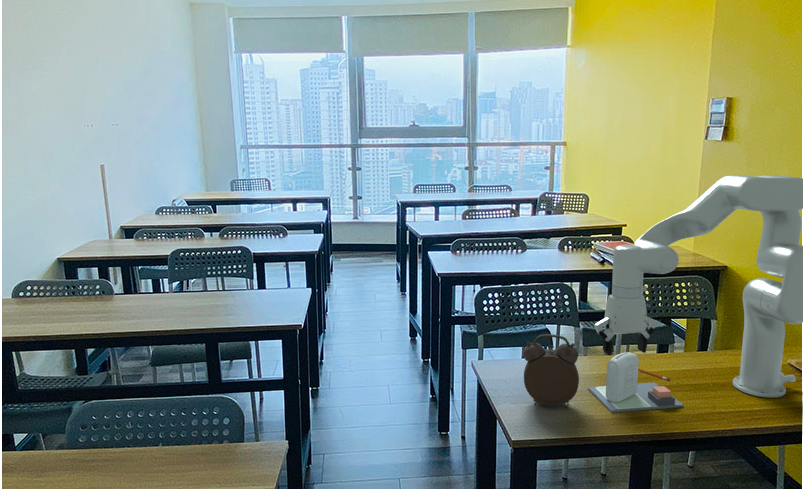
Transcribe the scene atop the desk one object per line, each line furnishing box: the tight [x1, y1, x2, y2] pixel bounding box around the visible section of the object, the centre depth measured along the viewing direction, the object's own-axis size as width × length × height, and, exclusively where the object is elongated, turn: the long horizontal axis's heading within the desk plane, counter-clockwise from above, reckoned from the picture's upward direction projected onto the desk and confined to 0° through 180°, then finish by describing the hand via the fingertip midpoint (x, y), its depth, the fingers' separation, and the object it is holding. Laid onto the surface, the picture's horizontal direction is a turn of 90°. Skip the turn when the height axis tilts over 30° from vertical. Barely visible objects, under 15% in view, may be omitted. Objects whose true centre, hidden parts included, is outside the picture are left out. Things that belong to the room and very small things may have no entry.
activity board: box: [587, 382, 684, 413], centre depth 151 cm, size 20×14×2 cm
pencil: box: [638, 367, 671, 382], centre depth 169 cm, size 1×19×1 cm, turn 36°
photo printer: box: [605, 351, 640, 402], centre depth 150 cm, size 10×4×12 cm, turn 125°
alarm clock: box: [522, 333, 580, 409], centre depth 148 cm, size 15×7×20 cm, turn 74°
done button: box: [653, 385, 672, 398], centre depth 148 cm, size 3×3×2 cm
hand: (624, 352), depth 149 cm, fingers open, 9 cm apart
